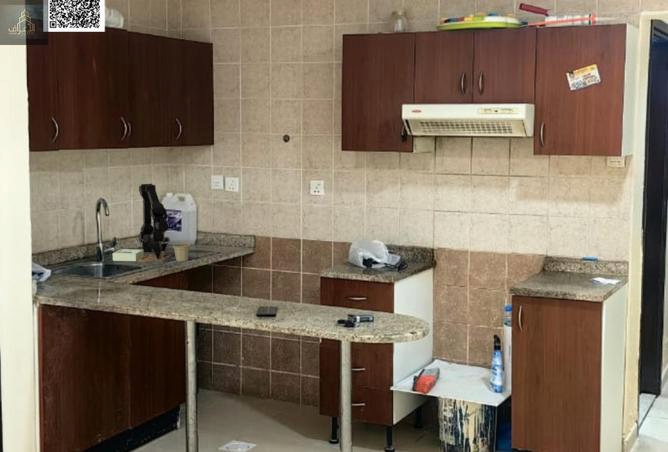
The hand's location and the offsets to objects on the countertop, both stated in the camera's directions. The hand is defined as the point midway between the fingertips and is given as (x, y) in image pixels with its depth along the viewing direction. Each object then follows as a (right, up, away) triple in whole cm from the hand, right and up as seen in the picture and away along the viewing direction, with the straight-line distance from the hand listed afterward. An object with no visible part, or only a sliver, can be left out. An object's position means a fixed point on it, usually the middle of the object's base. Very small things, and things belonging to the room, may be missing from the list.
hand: (159, 257), depth 538 cm
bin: (-17, -1, +2) cm, 18 cm away
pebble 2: (0, -1, 0) cm, 1 cm away
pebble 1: (-18, -1, -1) cm, 18 cm away
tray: (-3, -1, +1) cm, 3 cm away
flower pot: (+13, -2, -4) cm, 13 cm away
